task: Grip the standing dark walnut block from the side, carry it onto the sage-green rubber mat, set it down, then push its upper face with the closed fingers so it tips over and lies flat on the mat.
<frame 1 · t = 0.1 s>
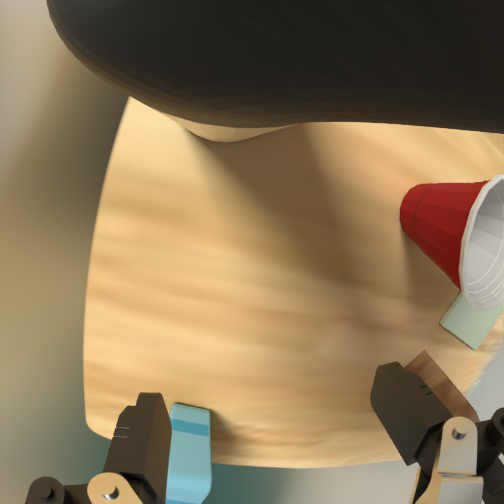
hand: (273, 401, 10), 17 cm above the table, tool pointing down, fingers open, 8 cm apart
walnut block: (416, 369, 35), on the table
mat: (495, 282, 32), on the table
plastic cup: (420, 208, 27), on the table
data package: (183, 426, 34), on the table
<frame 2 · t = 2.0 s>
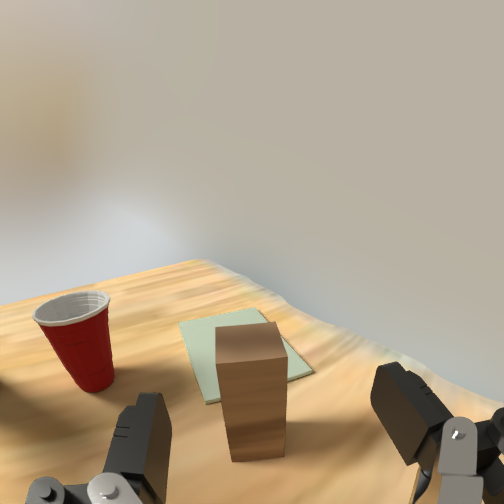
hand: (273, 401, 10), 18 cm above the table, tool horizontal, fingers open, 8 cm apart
walnut block: (255, 441, 26), on the table
mat: (235, 348, 42), on the table
plastic cup: (96, 379, 34), on the table
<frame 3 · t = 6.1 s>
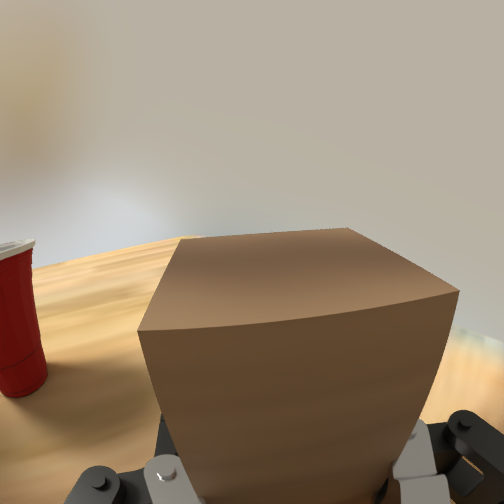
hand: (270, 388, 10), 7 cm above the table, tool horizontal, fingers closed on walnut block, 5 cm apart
plastic cup: (24, 378, 19), on the table
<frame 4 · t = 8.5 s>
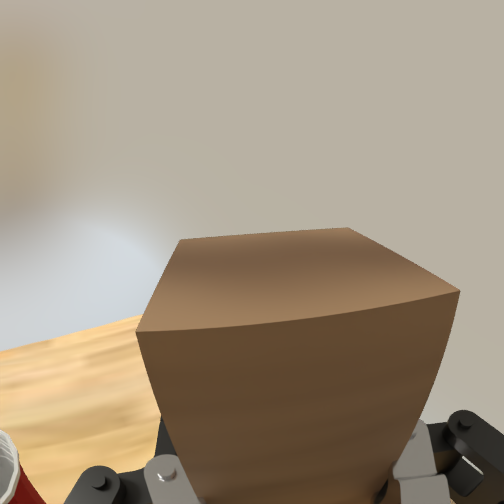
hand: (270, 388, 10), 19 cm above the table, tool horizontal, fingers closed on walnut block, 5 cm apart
when the fingers open (9 cm above the table, at t = 11.0 s): walnut block stays where it is, resting on mat.
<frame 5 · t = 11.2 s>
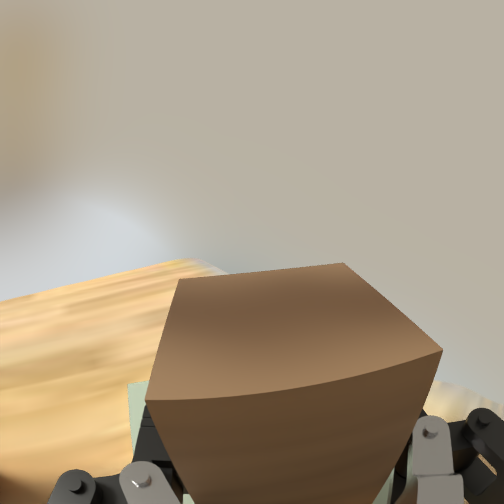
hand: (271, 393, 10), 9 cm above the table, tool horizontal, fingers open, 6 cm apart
mat: (248, 462, 15), on the table
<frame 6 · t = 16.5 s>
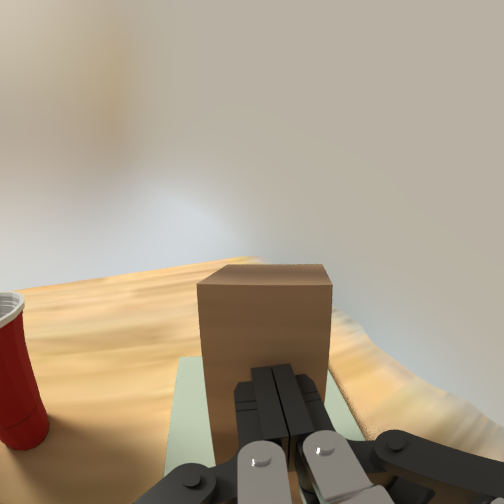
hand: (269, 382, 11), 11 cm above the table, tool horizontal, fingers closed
walnut block: (269, 474, 14), point 1 cm above the table, tilted 10°, touching mat
mat: (261, 429, 20), on the table
plastic cup: (26, 428, 16), on the table
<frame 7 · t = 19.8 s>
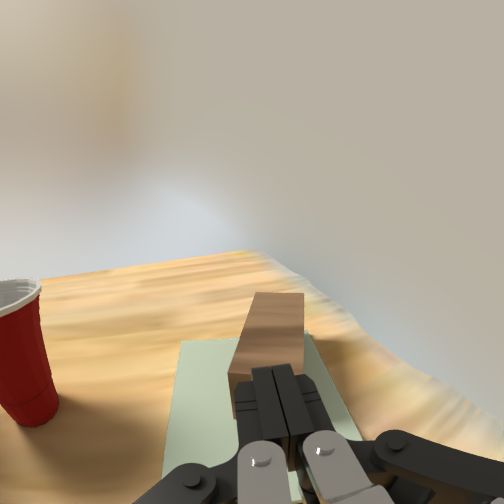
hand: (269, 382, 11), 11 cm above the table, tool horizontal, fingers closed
walnut block: (265, 400, 19), point 3 cm above the table, tilted 90°, touching mat
mat: (255, 404, 22), on the table
plastic cup: (36, 407, 19), on the table
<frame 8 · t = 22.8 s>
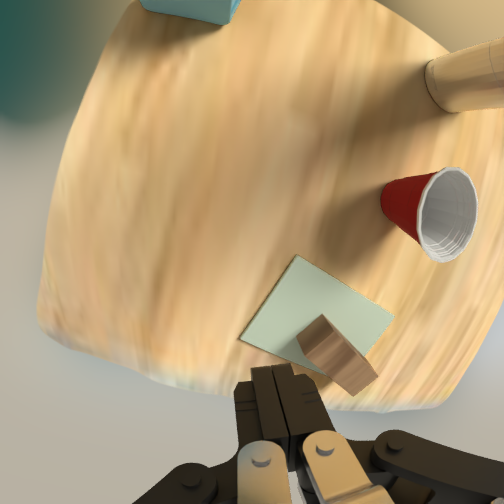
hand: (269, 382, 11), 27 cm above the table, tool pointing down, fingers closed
walnut block: (313, 334, 38), point 3 cm above the table, tilted 90°, touching mat
mat: (323, 326, 42), on the table
plastic cup: (397, 200, 38), on the table
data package: (191, 6, 28), on the table
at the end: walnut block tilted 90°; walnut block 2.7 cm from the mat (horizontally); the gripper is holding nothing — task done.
